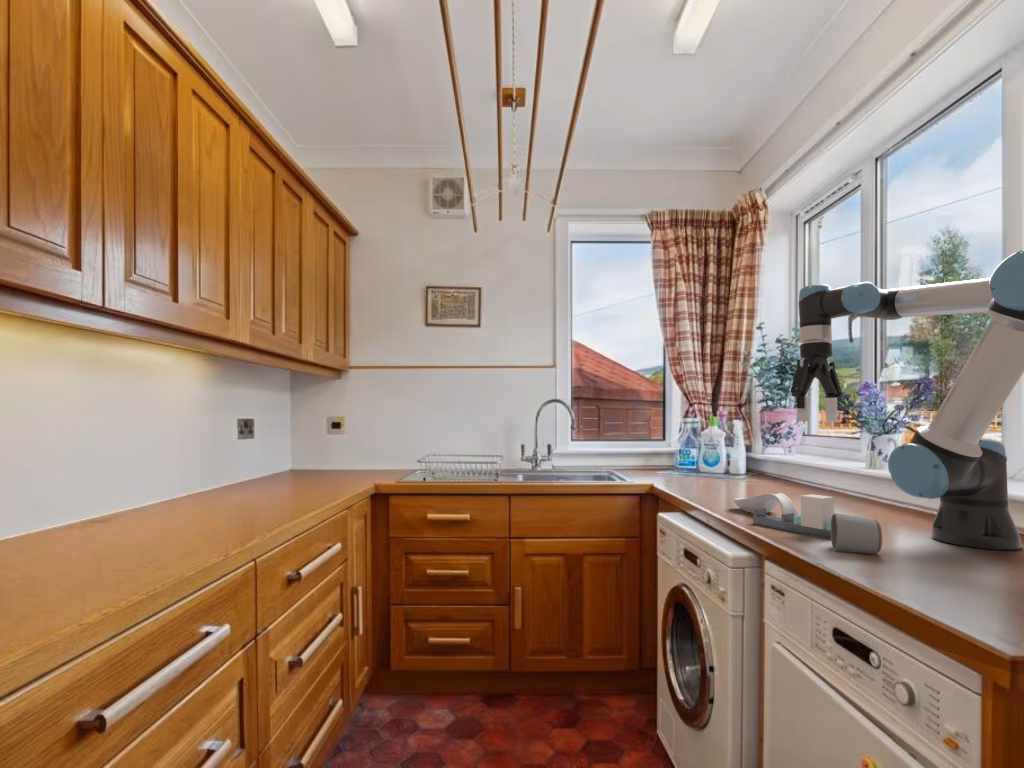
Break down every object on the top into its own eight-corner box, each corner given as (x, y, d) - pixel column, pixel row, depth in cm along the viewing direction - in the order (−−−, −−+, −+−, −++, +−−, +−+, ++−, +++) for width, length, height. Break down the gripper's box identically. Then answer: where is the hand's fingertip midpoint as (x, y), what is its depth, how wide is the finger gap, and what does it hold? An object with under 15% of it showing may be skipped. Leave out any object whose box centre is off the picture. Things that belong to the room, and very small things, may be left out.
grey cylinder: (884, 558, 104) (883, 519, 105) (837, 554, 107) (836, 515, 108) (870, 547, 114) (868, 511, 115) (826, 543, 117) (825, 508, 118)
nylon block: (834, 527, 124) (833, 497, 124) (822, 529, 121) (821, 498, 122) (813, 523, 128) (812, 494, 129) (801, 525, 126) (800, 495, 126)
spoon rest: (726, 508, 161) (726, 485, 162) (763, 508, 162) (762, 485, 163) (771, 524, 138) (770, 497, 138) (814, 524, 139) (813, 496, 139)
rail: (841, 537, 122) (840, 521, 122) (831, 539, 120) (830, 522, 120) (762, 522, 140) (762, 507, 140) (753, 523, 138) (752, 508, 138)
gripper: (827, 347, 153) (829, 421, 152) (774, 340, 140) (776, 421, 139) (854, 344, 147) (857, 421, 145) (802, 337, 134) (804, 421, 133)
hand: (817, 421), depth 142 cm, fingers open, 13 cm apart
